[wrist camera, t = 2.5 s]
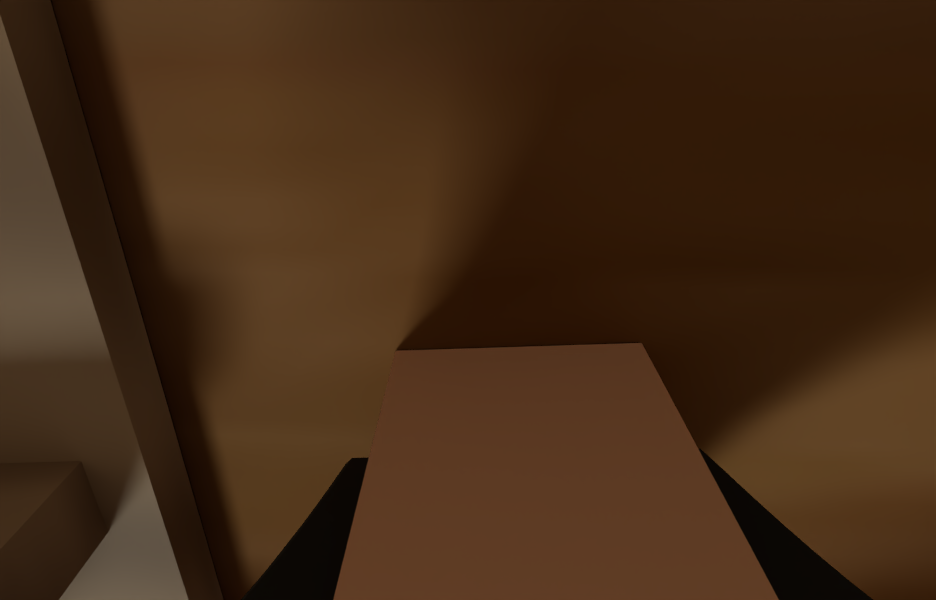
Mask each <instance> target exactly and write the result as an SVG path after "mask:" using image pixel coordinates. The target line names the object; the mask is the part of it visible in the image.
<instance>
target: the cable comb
mask: <svg viewBox="0 0 936 600" xmlns="http://www.w3.org/2000/svg"><path fill="white" fill-rule="evenodd" d="M0 600H223V596H222V593H221V589H220V586H219V582H218V579H217V575H216V572H215V568H214V565H213V561H212V558H211V555H210V551H209V548H208V544H207V541H206V537H205V534H204V530H203V527H202V523H201V520H200V516H199V513H198V510H197V506H196V503H195V499H194V496H193V492H192V489H191V485H190V482H189V478H188V475H187V471H186V468H185V464H184V461H183V458H182V454H181V451H180V447H179V444H178V440H177V437H176V433H175V430H174V426H173V423H172V419H171V416H170V413H169V409H168V406H167V402H166V399H165V395H164V392H163V388H162V385H161V381H160V378H159V374H158V371H157V368H156V364H155V361H154V357H153V354H152V350H151V347H150V343H149V340H148V336H147V333H146V329H145V326H144V323H143V319H142V316H141V312H140V309H139V305H138V302H137V298H136V295H135V291H134V288H133V284H132V281H131V278H130V274H129V271H128V267H127V264H126V260H125V257H124V253H123V250H122V246H121V243H120V239H119V236H118V233H117V229H116V226H115V222H114V219H113V215H112V212H111V208H110V205H109V201H108V198H107V194H106V191H105V188H104V184H103V181H102V177H101V174H100V170H99V167H98V163H97V160H96V156H95V153H94V149H93V146H92V143H91V139H90V136H89V132H88V129H87V125H86V122H85V118H84V115H83V111H82V108H81V104H80V101H79V98H78V94H77V91H76V87H75V84H74V80H73V77H72V73H71V70H70V66H69V63H68V59H67V56H66V52H65V49H64V46H63V42H62V39H61V35H60V32H59V28H58V25H57V21H56V18H55V14H54V11H53V7H52V4H51V1H50V0H0Z"/></svg>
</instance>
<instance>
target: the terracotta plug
mask: <svg viewBox="0 0 936 600" xmlns="http://www.w3.org/2000/svg"><path fill="white" fill-rule="evenodd" d="M333 600H779V599H778V597H777V596H776V594H775V592H774V590H773V588H772V586H771V584H770V582H769V581H768V579H767V577H766V575H765V573H764V571H763V569H762V567H761V566H760V564H759V562H758V560H757V558H756V556H755V554H754V552H753V551H752V549H751V547H750V545H749V543H748V541H747V539H746V537H745V536H744V534H743V532H742V530H741V528H740V526H739V524H738V522H737V521H736V519H735V517H734V515H733V513H732V511H731V509H730V507H729V506H728V504H727V502H726V500H725V498H724V496H723V494H722V492H721V491H720V489H719V487H718V485H717V483H716V481H715V479H714V477H713V476H712V474H711V472H710V470H709V468H708V466H707V464H706V463H705V461H704V459H703V457H702V455H701V453H700V451H699V449H698V448H697V446H696V444H695V442H694V440H693V438H692V436H691V434H690V433H689V431H688V429H687V427H686V425H685V423H684V421H683V419H682V418H681V416H680V414H679V412H678V410H677V408H676V406H675V404H674V403H673V401H672V399H671V397H670V395H669V393H668V391H667V389H666V388H665V386H664V384H663V382H662V380H661V378H660V376H659V374H658V373H657V371H656V369H655V367H654V365H653V363H652V361H651V359H650V358H649V356H648V354H647V352H646V350H645V348H644V346H643V344H642V343H623V344H591V345H559V346H528V347H496V348H464V349H432V350H401V351H395V355H394V359H393V363H392V367H391V371H390V375H389V379H388V383H387V387H386V391H385V395H384V399H383V403H382V407H381V411H380V415H379V419H378V423H377V427H376V431H375V435H374V439H373V443H372V447H371V451H370V455H369V459H368V463H367V467H366V471H365V475H364V479H363V483H362V487H361V491H360V495H359V499H358V503H357V507H356V511H355V515H354V519H353V523H352V527H351V531H350V535H349V539H348V543H347V547H346V551H345V555H344V559H343V563H342V567H341V571H340V575H339V579H338V583H337V587H336V591H335V595H334V599H333Z"/></svg>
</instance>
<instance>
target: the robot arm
mask: <svg viewBox="0 0 936 600" xmlns="http://www.w3.org/2000/svg"><path fill="white" fill-rule="evenodd" d="M699 451H700V453H701V455H702V457H703V459H704V461H705V463H706V464H707V466H708V468H709V470H710V472H711V474H712V476H713V477H714V479H715V481H716V483H717V485H718V487H719V489H720V491H721V492H722V494H723V496H724V498H725V500H726V502H727V504H728V506H729V507H730V509H731V511H732V513H733V515H734V517H735V519H736V521H737V522H738V524H739V526H740V528H741V530H742V532H743V534H744V536H745V537H746V539H747V541H748V543H749V545H750V547H751V549H752V551H753V552H754V554H755V556H756V558H757V560H758V562H759V564H760V566H761V567H762V569H763V571H764V573H765V575H766V577H767V579H768V581H769V582H770V584H771V586H772V588H773V590H774V592H775V594H776V596H777V597H778V599H779V600H873V599H871V598H870V597H869V596H868V595H866V594H865V593H864V592H863V591H861V590H860V589H859V588H858V587H856V586H855V585H854V584H852V583H851V582H850V581H849V580H848V579H846V578H845V577H844V576H843V575H841V574H840V573H839V572H838V571H837V570H835V569H834V568H833V567H832V566H831V565H829V564H828V563H827V562H826V561H825V560H823V559H822V558H821V557H820V556H819V555H818V554H816V553H815V552H814V551H813V550H812V549H811V548H809V547H808V546H807V545H806V544H805V543H804V542H802V541H801V540H800V539H799V538H798V537H797V536H796V535H794V534H793V533H792V532H791V531H790V530H789V529H788V528H786V527H785V526H784V525H783V524H782V523H781V522H780V521H779V520H777V519H776V518H775V517H774V516H773V515H772V514H771V513H770V512H769V511H767V510H766V509H765V508H764V507H763V506H762V505H761V504H760V503H759V502H758V501H756V500H755V499H754V498H753V497H752V496H751V495H750V494H749V493H748V492H747V491H746V490H744V489H743V488H742V487H741V486H740V485H739V484H738V483H737V482H736V481H735V480H734V479H733V478H731V477H730V476H729V475H728V474H727V473H726V472H725V471H724V470H723V469H722V468H721V467H720V466H719V465H717V464H716V463H715V462H714V461H713V460H712V459H711V458H710V457H709V456H708V455H707V454H705V453H704V452H703V451H702V450H701V449H699ZM368 459H369V458H352V459H351V460H350V461H348V462H347V463H346V464H345V466H344V467H343V469H342V470H341V472H340V473H339V475H338V476H337V477H336V479H335V480H334V482H333V483H332V485H331V486H330V487H329V489H328V490H327V492H326V493H325V494H324V496H323V497H322V499H321V500H320V501H319V503H318V504H317V505H316V507H315V508H314V509H313V511H312V512H311V514H310V515H309V516H308V518H307V519H306V520H305V522H304V523H303V524H302V526H301V527H300V528H299V529H298V531H297V532H296V533H295V535H294V536H293V537H292V538H291V540H290V541H289V542H288V543H287V545H286V546H285V547H284V549H283V550H282V551H281V552H280V554H279V555H278V556H277V557H276V559H275V560H274V561H273V563H272V564H271V565H270V566H269V568H268V569H267V570H266V571H265V572H264V574H263V575H262V576H261V577H260V578H259V580H258V581H257V582H256V583H255V584H254V585H253V586H252V588H251V589H250V590H249V591H248V592H247V593H246V595H245V596H244V597H243V598H242V599H241V600H333V599H334V595H335V591H336V587H337V583H338V579H339V575H340V571H341V567H342V563H343V559H344V555H345V551H346V547H347V543H348V539H349V535H350V531H351V527H352V523H353V519H354V515H355V511H356V507H357V503H358V499H359V495H360V491H361V487H362V483H363V479H364V475H365V471H366V467H367V463H368Z"/></svg>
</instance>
